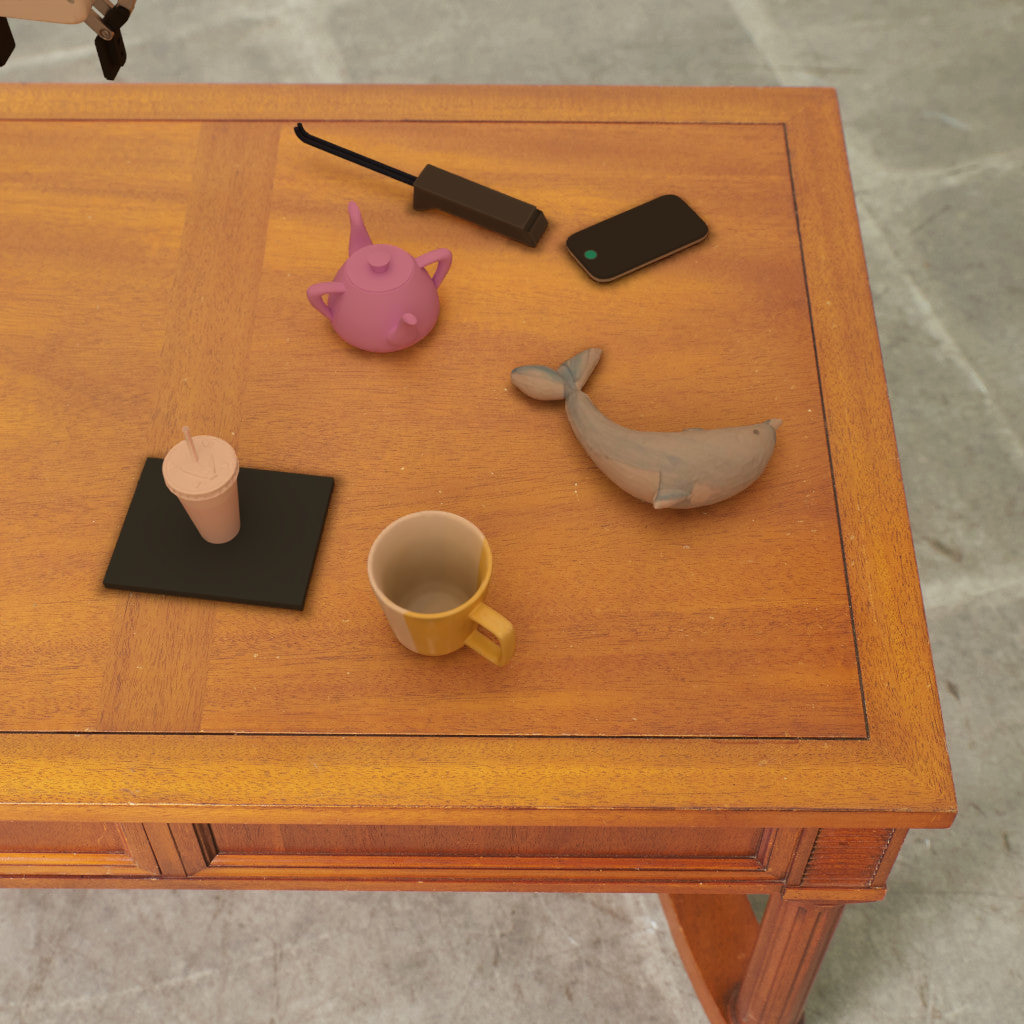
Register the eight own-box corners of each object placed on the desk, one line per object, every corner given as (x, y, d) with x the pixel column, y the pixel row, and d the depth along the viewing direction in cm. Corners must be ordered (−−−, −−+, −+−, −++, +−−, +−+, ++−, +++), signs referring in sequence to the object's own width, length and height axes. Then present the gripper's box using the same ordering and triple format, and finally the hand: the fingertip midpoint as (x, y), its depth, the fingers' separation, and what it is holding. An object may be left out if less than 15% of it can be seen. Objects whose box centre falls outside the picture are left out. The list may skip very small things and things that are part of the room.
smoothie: (226, 486, 119) (197, 389, 107) (269, 527, 116) (244, 433, 105) (170, 526, 116) (134, 431, 105) (213, 569, 114) (180, 477, 102)
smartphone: (560, 237, 138) (674, 189, 142) (560, 243, 138) (673, 195, 143) (599, 282, 134) (714, 230, 138) (598, 288, 135) (713, 236, 139)
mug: (354, 615, 112) (342, 552, 104) (447, 555, 116) (443, 488, 107) (446, 728, 106) (442, 671, 98) (541, 661, 110) (545, 600, 101)
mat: (104, 588, 114) (101, 582, 113) (149, 462, 122) (146, 456, 121) (303, 611, 113) (301, 605, 112) (335, 483, 120) (333, 476, 120)
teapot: (358, 261, 137) (350, 198, 129) (473, 304, 133) (471, 241, 126) (299, 335, 131) (288, 273, 123) (418, 382, 127) (414, 321, 120)
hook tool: (546, 235, 141) (305, 139, 145) (550, 212, 138) (304, 114, 142) (532, 258, 139) (289, 160, 143) (536, 234, 136) (287, 134, 140)
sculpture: (637, 283, 131) (820, 412, 117) (631, 342, 136) (804, 471, 123) (500, 347, 123) (678, 493, 109) (499, 407, 128) (669, 553, 115)
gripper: (-135, -118, 93) (-55, 79, 107) (94, -92, 92) (145, 104, 106) (-93, -171, 97) (-21, 25, 111) (127, -147, 96) (172, 48, 110)
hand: (60, 63), depth 109 cm, fingers open, 9 cm apart
